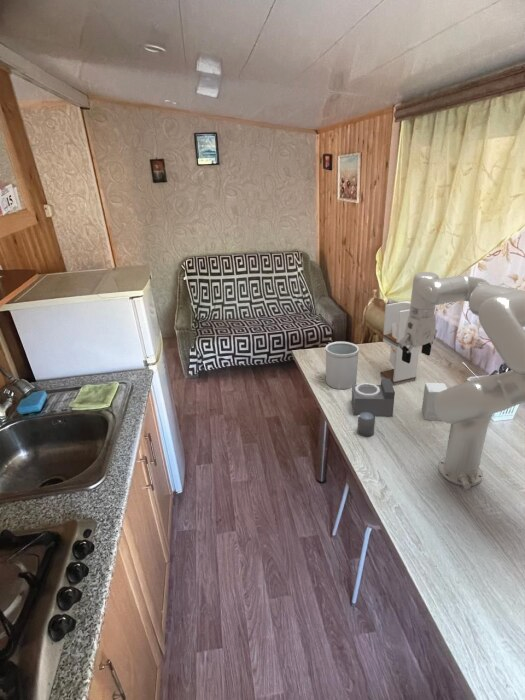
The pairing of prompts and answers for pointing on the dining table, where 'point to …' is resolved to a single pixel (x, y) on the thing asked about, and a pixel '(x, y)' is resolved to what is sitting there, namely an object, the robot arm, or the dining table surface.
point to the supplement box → (431, 399)
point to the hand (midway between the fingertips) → (415, 357)
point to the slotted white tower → (392, 335)
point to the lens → (366, 424)
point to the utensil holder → (341, 364)
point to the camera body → (373, 398)
